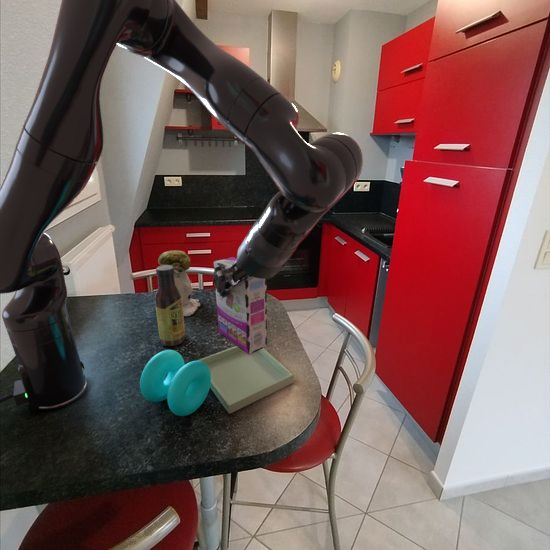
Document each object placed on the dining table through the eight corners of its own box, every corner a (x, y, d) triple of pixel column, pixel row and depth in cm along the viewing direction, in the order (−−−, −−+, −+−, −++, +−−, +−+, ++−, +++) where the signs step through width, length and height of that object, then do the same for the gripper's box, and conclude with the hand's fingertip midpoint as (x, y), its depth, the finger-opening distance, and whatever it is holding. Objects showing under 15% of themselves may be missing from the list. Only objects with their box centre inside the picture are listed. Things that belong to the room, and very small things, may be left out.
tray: (229, 414, 60) (228, 405, 59) (195, 368, 72) (195, 361, 71) (293, 382, 68) (293, 374, 67) (253, 346, 80) (253, 339, 79)
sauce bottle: (178, 349, 79) (169, 274, 72) (155, 346, 80) (143, 271, 73) (190, 335, 85) (182, 264, 78) (168, 332, 86) (159, 262, 79)
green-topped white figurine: (156, 303, 102) (148, 247, 95) (197, 297, 106) (192, 243, 99) (157, 320, 92) (147, 260, 85) (202, 313, 96) (196, 255, 89)
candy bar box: (268, 346, 64) (268, 269, 58) (248, 356, 61) (245, 276, 55) (236, 325, 72) (233, 255, 66) (217, 332, 69) (211, 260, 63)
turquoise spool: (179, 430, 56) (173, 385, 53) (140, 409, 61) (132, 366, 57) (216, 395, 64) (212, 353, 61) (179, 378, 69) (174, 339, 65)
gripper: (294, 220, 55) (258, 266, 69) (218, 232, 48) (194, 281, 61) (313, 257, 53) (272, 297, 67) (237, 275, 46) (208, 316, 59)
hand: (235, 289), depth 64 cm, fingers closed on candy bar box, 5 cm apart
